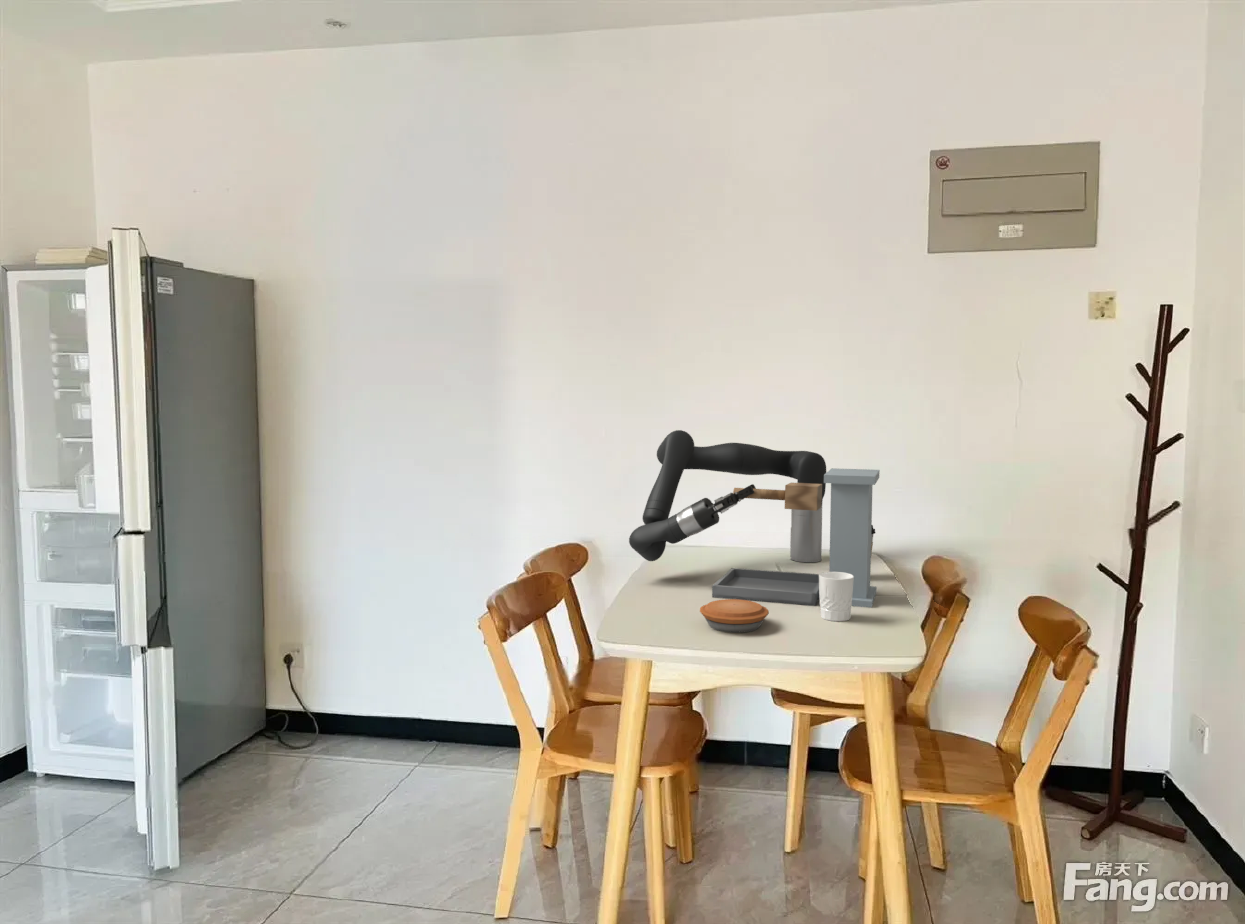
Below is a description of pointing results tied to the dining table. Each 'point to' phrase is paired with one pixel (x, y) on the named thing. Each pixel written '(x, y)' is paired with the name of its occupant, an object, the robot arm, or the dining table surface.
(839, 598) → the white cup
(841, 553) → the pedestal
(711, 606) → the pie
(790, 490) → the mallet
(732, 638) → the dining table surface
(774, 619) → the dining table surface
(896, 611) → the dining table surface
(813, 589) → the tray
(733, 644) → the dining table surface
